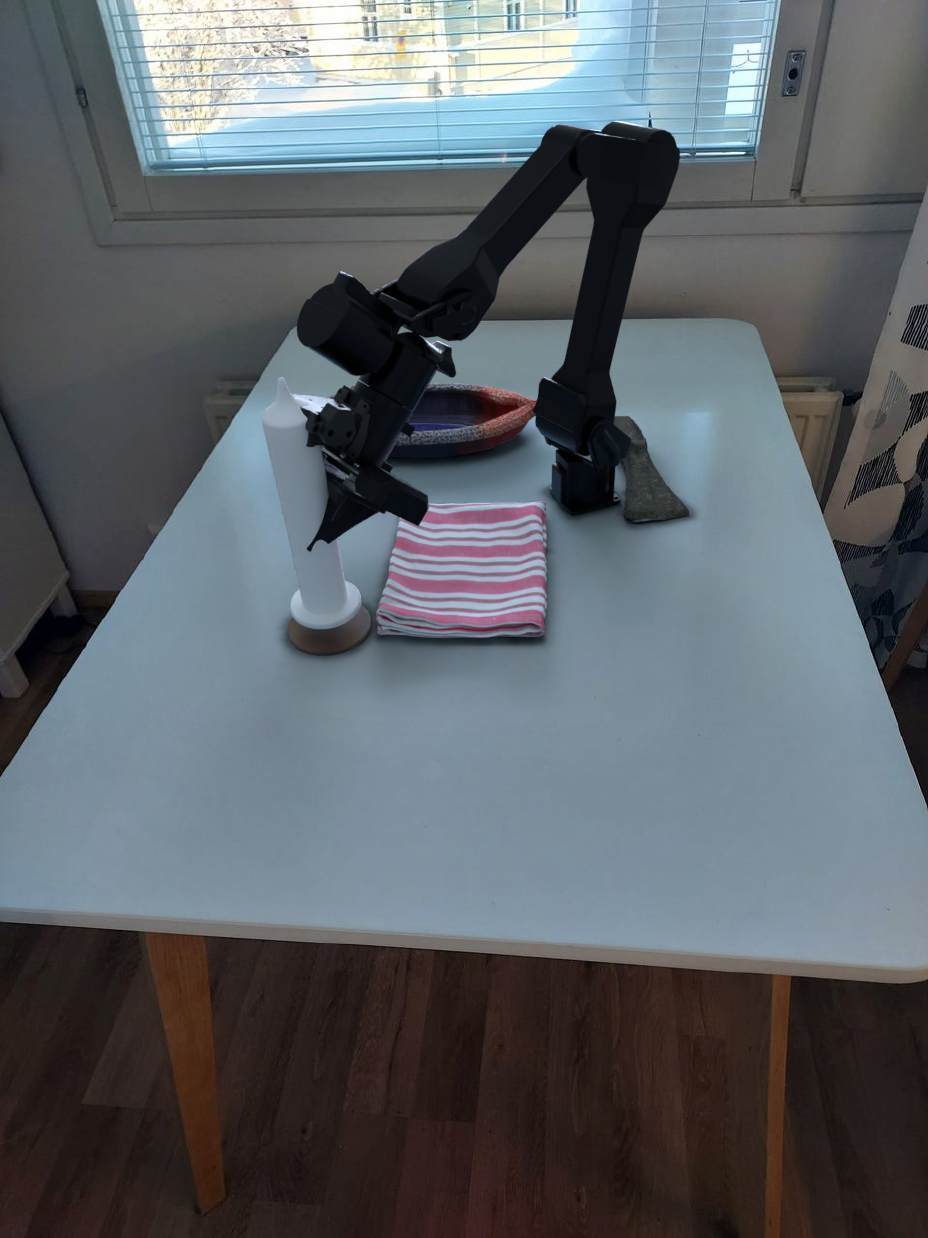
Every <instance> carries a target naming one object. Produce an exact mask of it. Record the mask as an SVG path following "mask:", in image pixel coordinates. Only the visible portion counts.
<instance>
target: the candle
mask: <svg viewBox="0 0 928 1238" xmlns="http://www.w3.org/2000/svg"><path fill="white" fill-rule="evenodd" d="M276 383H277V385H276V396H275V400H274V401H273V402H272V403H271V404H270V405H268V406H267V407H266V408H265V409H264V410H263V412H262V414H261V416H260V417H261V419H260V420H261V425H262V429H263V433H264V438H265V442H266V446H267V451H268V456H269V460H270V465H271V469H272V475H273V477H274V478H273V479H274V482H275V488H276V492H277V496H278V500H279V504H280V509H281V513H282V518H283V523H284V528H285V531H286V532H285V533H286V536H287V540H288V545H289V549H290V554H291V559H292V563H293V567H294V572H295V577H296V581H297V586H298V590H296V591H295V592H294V594H293V595H292V597H291V599H290V602H289V610H290V613H291V616H292V618H294V619H295V620H296V621H297V622H298V623H299V624H301V625H303V626H305V627H308V628H312V629H329V628H334V627H337V626H340V625H342V624H345V623H346V622H348V621H350V620H351V619H352V618H353V617H354V616H355V615H356V614H357V613H358V611H359V610H360V607H361V605H362V595H361V591H360V590H359V588H358V587H357V586H356V585H354V584H353V583H352V582H350V581H348V580H346V579H345V574H344V568H343V561H342V556H341V551H340V544H339V541H338V540H339V539H338V538H337V539H335V540H334V541H332V542H331V543H330V544H327V543H326V542H325V541H323V540H318V541H317V542H316V543H315V544H314V546H313V548H312V550H311V552H310V551H308V550H307V547H308V546H309V545H310V543H311V542H312V541H313V539H314V537H315V536H316V534H317V532H318V530H319V528H320V525H321V523H322V520H323V517H324V514H325V510H326V506H327V501H328V497H329V495H328V487H327V478H326V472H325V467H324V461H323V456H322V450H321V445H316V446H314V447H306V445H307V439H308V430H307V429H306V427H305V425H306V422H307V417H306V416H305V415H304V414H303V413H302V411H301V408H300V406H309V404H308V403H307V402H304V401H301V400H299V399H296V398H294V397H293V395H292V394H293V393H291V391H290V388H289V386H288V384H287V383H286V379H285V378H284V376H279V377H278V378H277V381H276Z"/></svg>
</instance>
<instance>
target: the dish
mask: <svg viewBox="0 0 928 1238" xmlns="http://www.w3.org/2000/svg"><path fill="white" fill-rule="evenodd" d="M355 385H356V384H354V385H352V386H351V387H349V388H350V389H352V390H353V388H354V386H355ZM335 395H336V393H335V394H333V395H330V396H327V397H326V398H328V399H333V398H334V397H335ZM536 401H537V399H532V398H529V397H527V396H524V395H523V394H522V393H521V394H520V393H518V392H515V391H511V390H507V389H503V388H499V387H495V386H489V385H483V384H472V383H459V382H458V383H457V382H430V384H429V385H428V387H427V389H426V391H425V393H424V394H423V396H422V398H421V400H420V401H419V403H418V405H417V407H416V408H415V410H414V412H412V411H410V410H409V411H410V412H412V413H413V414H412V415H411V417H410V419H409V421H408V424H410V425H412V426H413V427H415V430H414V432H413V433H412V435H411V437H409V436H407V435H405V434H403V433H401V435H400V437H399V438H398V440H397V442H396V444H395V446H394V447H393V449H392V451H391V453H390V454H389V456H388V457H389V458H414V459H415V458H443V457H455V456H462V455H469V454H474V453H480V452H483V451H486V450H487V451H488V450H491V449H493V448H496V447H497V446H500V445H502V444H504V443H507V442H510V441H512V440H514V439H515V438H516V437H517V436H518V435H519V434H520V433H521V432H522V431H523V430H524V429H525V427H526V426H527V425H528V423H529V422H530V421H531V420H532V419H533V418H536V414H535V413H533V412H532V411H533V408H534V406H535V404H536ZM404 408H405V407H404ZM407 410H408V409H407Z"/></svg>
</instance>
